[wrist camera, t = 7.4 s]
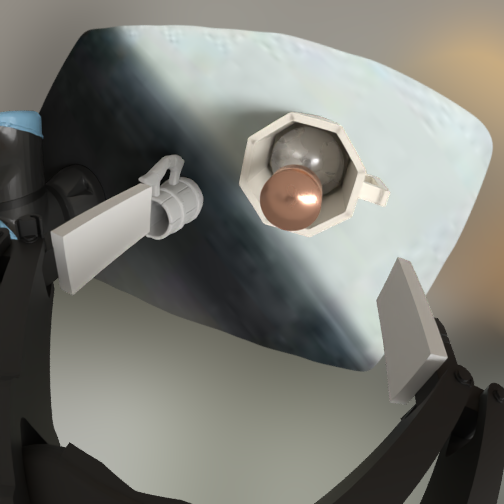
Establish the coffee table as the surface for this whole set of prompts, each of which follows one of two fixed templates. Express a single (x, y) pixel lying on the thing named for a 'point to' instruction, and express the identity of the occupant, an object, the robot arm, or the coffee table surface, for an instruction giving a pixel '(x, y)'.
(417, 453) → the robot arm
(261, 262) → the coffee table surface
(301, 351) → the coffee table surface
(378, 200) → the octagonal white cup
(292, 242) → the coffee table surface
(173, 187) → the mug
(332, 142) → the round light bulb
